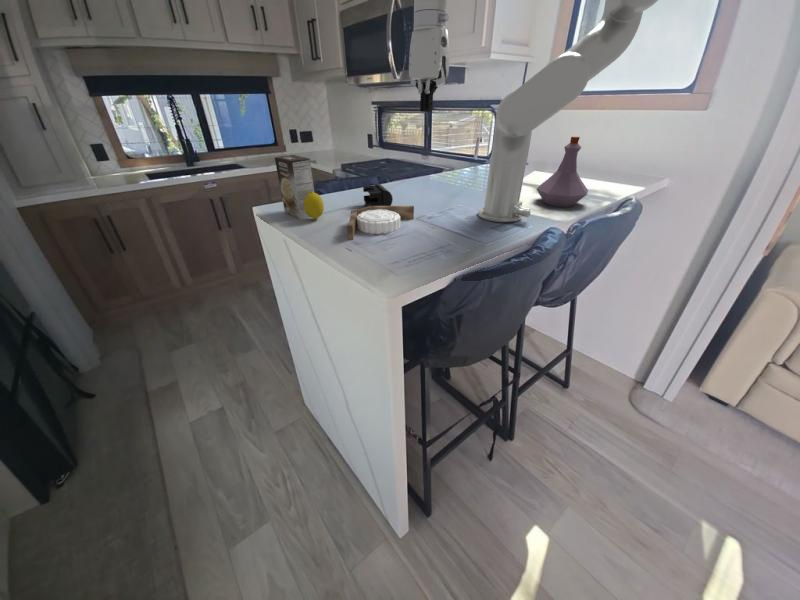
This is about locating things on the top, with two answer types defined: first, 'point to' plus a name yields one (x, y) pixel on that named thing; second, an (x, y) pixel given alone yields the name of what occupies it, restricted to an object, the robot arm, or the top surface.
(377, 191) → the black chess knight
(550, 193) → the flask
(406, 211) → the centring jig
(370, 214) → the mooncake
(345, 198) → the top surface
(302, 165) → the coffee box
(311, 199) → the lemon
